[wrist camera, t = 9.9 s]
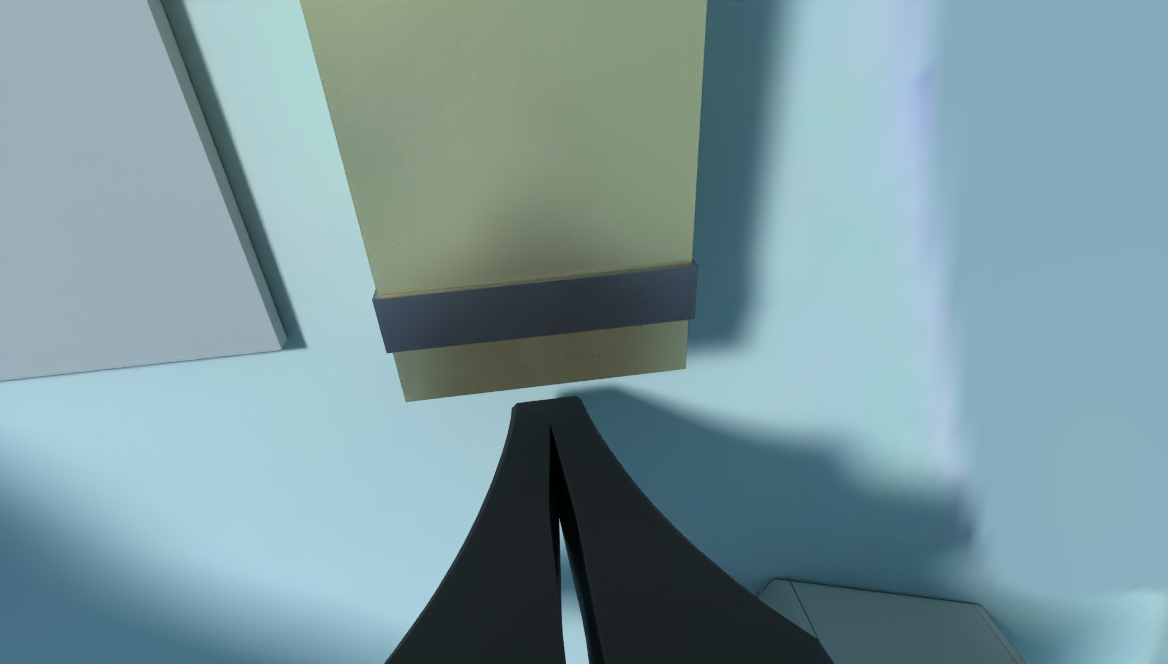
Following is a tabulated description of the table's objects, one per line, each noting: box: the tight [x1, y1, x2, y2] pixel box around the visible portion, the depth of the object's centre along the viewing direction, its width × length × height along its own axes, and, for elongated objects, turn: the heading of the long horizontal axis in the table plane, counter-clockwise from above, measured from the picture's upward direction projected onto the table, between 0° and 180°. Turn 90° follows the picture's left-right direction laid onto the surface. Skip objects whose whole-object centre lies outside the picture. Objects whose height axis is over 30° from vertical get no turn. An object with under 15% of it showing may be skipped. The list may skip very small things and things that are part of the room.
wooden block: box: [300, 0, 707, 402], centre depth 8 cm, size 9×4×4 cm, turn 2°
